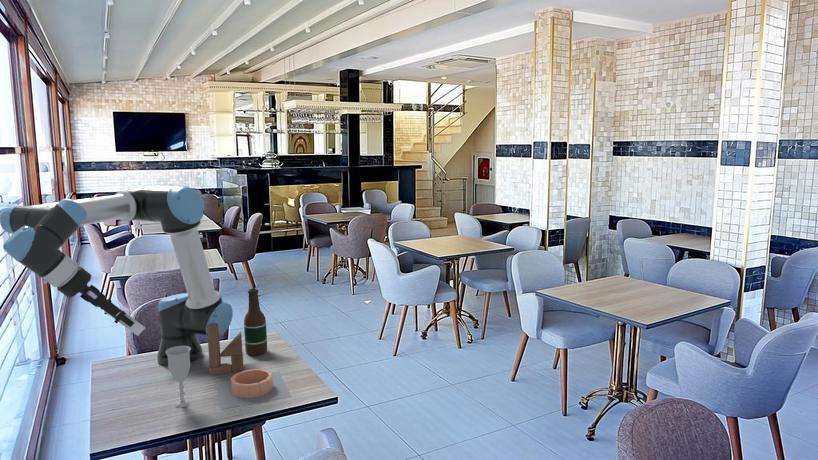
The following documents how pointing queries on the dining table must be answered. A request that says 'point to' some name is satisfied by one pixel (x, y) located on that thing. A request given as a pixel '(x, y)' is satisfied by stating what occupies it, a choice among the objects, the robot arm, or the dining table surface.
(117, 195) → the robot arm
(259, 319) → the beer bottle
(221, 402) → the slate board
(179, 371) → the chalice
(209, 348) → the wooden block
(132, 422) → the dining table surface
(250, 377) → the ceramic collar
